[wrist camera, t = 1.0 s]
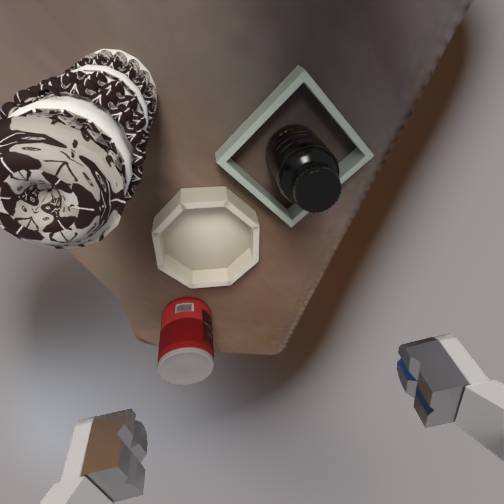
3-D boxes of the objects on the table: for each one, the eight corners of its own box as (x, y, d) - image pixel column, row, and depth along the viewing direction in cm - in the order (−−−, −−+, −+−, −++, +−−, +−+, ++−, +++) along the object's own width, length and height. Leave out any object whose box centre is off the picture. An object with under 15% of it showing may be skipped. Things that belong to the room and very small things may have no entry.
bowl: (201, 166, 45) (202, 180, 42) (274, 227, 52) (279, 242, 49) (136, 236, 50) (132, 253, 47) (210, 283, 57) (211, 301, 54)
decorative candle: (70, 125, 41) (-47, 261, 21) (70, 31, 36) (-83, 91, 16) (154, 143, 43) (123, 281, 23) (166, 58, 38) (138, 140, 18)
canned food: (152, 315, 59) (145, 372, 50) (185, 287, 57) (185, 342, 48) (187, 335, 63) (186, 392, 54) (220, 310, 61) (225, 365, 52)
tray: (298, 64, 40) (305, 69, 38) (365, 146, 47) (374, 155, 44) (214, 152, 45) (216, 162, 42) (286, 216, 51) (291, 227, 49)
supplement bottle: (325, 160, 47) (359, 205, 38) (277, 183, 48) (298, 233, 39) (307, 111, 43) (341, 147, 34) (255, 138, 44) (273, 180, 35)
